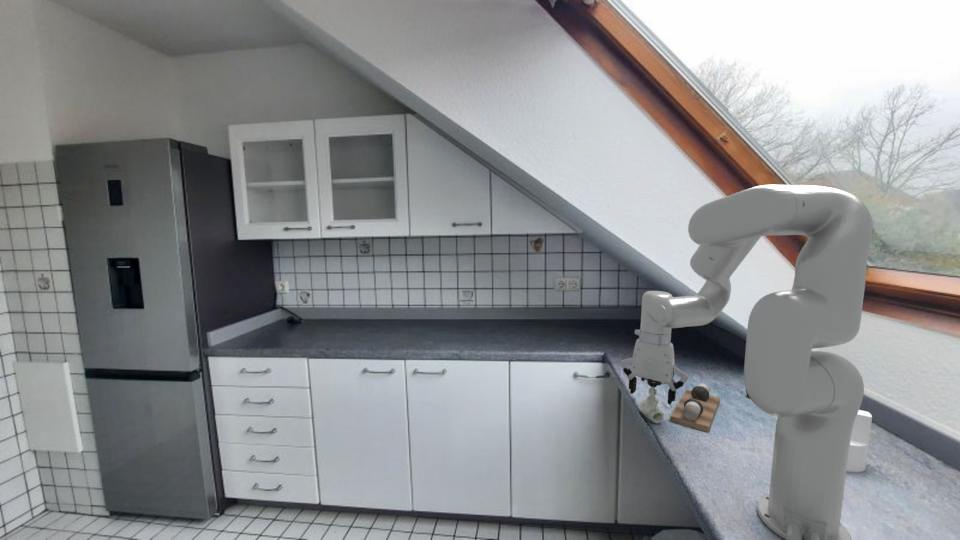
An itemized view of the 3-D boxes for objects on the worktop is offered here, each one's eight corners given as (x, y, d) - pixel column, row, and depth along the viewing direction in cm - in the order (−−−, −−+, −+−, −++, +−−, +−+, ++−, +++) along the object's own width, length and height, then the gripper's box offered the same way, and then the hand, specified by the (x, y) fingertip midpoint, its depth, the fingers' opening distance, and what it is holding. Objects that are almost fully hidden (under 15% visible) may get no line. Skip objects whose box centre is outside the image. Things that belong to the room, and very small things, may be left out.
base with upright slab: (814, 462, 84) (820, 412, 83) (808, 443, 92) (812, 396, 90) (871, 477, 79) (878, 423, 78) (859, 455, 87) (865, 406, 85)
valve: (656, 412, 107) (659, 371, 106) (669, 424, 100) (671, 381, 99) (634, 412, 107) (636, 372, 105) (645, 424, 100) (647, 381, 99)
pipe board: (708, 432, 96) (710, 411, 96) (670, 421, 102) (671, 401, 101) (719, 402, 113) (721, 384, 112) (686, 394, 118) (687, 377, 118)
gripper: (617, 334, 104) (614, 392, 106) (688, 347, 93) (683, 412, 95) (626, 328, 109) (623, 383, 112) (694, 340, 99) (689, 401, 101)
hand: (651, 397), depth 103 cm, fingers open, 9 cm apart
